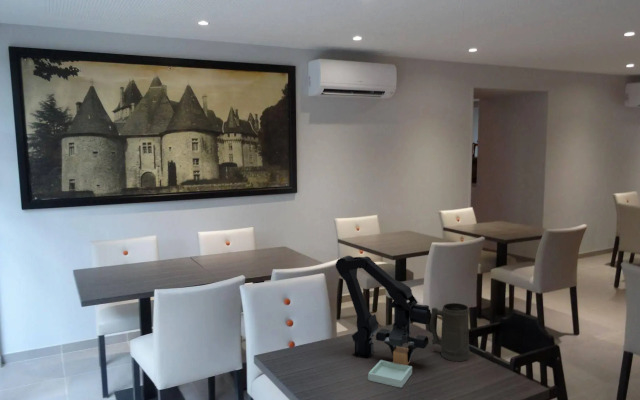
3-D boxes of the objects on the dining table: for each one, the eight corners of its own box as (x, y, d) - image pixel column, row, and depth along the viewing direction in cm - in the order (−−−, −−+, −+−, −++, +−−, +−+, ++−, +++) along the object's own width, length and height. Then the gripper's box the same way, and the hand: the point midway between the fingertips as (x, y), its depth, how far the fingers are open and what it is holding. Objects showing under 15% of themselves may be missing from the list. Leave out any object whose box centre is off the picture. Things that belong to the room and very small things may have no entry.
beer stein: (472, 352, 188) (469, 302, 187) (471, 363, 178) (468, 310, 177) (432, 349, 193) (429, 301, 192) (429, 360, 183) (426, 309, 182)
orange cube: (393, 364, 178) (393, 351, 178) (397, 359, 183) (397, 346, 182) (406, 366, 176) (406, 353, 175) (410, 361, 180) (410, 348, 180)
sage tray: (368, 380, 166) (368, 373, 166) (380, 366, 176) (380, 360, 176) (401, 387, 160) (401, 380, 160) (412, 373, 171) (412, 366, 171)
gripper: (370, 322, 175) (370, 363, 177) (420, 331, 166) (420, 374, 168) (381, 313, 185) (381, 352, 186) (429, 321, 176) (428, 361, 178)
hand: (401, 360), depth 179 cm, fingers closed on orange cube, 5 cm apart
